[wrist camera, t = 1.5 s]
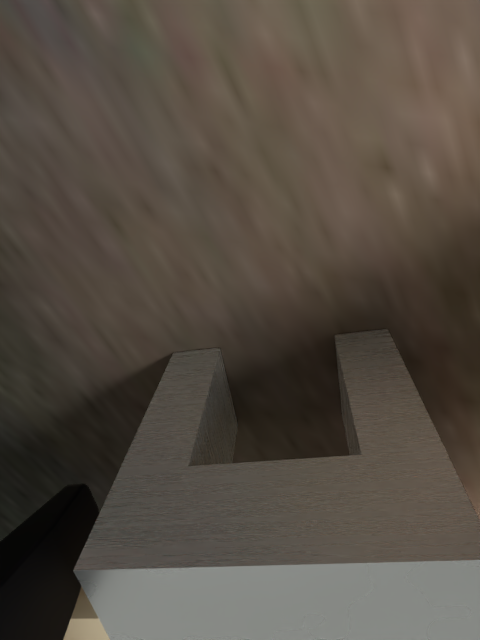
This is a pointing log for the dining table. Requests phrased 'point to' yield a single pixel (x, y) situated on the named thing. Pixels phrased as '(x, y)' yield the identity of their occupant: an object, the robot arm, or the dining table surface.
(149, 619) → the clip
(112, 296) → the dining table surface
